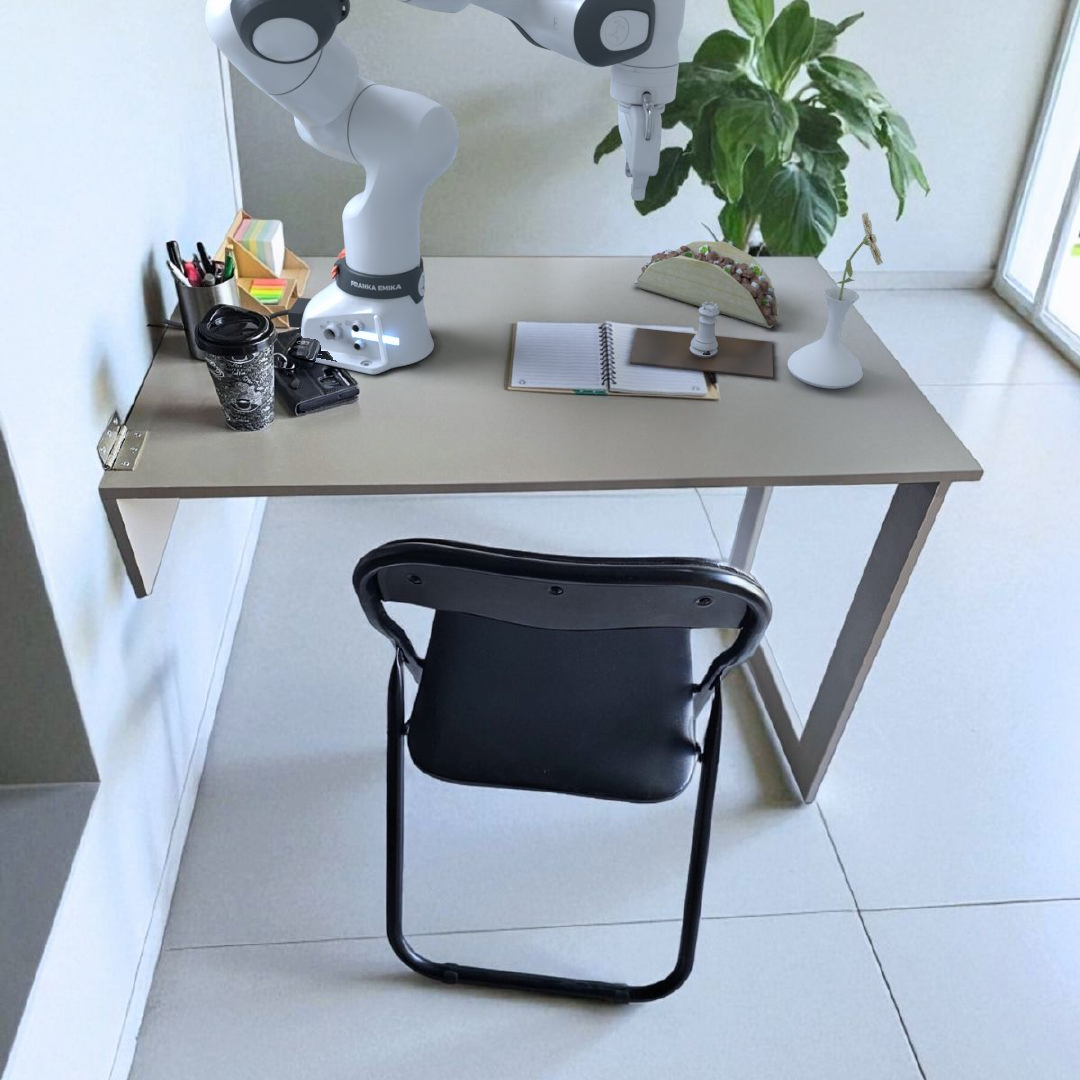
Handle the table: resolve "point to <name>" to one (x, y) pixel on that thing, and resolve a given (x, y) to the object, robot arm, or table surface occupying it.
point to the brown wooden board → (676, 354)
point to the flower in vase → (834, 334)
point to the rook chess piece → (706, 331)
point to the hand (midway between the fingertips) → (634, 187)
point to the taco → (713, 280)
